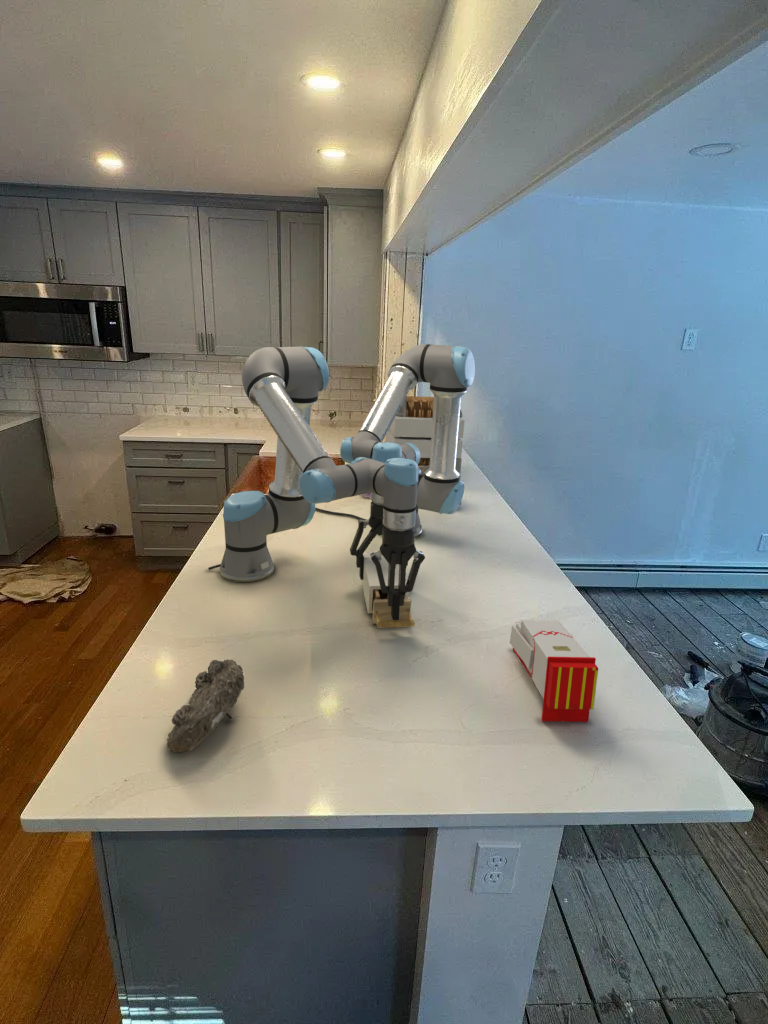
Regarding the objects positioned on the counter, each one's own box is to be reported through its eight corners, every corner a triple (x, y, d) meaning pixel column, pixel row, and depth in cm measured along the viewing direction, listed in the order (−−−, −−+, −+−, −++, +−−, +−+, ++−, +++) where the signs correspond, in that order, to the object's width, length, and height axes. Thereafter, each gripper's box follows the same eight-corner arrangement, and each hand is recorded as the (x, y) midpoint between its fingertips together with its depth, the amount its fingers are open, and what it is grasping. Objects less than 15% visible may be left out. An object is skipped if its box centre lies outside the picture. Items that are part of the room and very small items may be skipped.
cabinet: (407, 612, 149) (410, 584, 145) (367, 613, 147) (369, 586, 143) (396, 576, 163) (399, 551, 160) (360, 577, 162) (362, 552, 158)
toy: (555, 605, 135) (607, 664, 106) (550, 657, 138) (599, 728, 109) (505, 604, 135) (543, 662, 106) (500, 656, 138) (537, 727, 108)
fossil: (192, 660, 117) (244, 628, 112) (224, 691, 120) (276, 661, 115) (142, 746, 98) (202, 712, 93) (182, 779, 101) (242, 748, 96)
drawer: (413, 637, 138) (415, 615, 135) (376, 638, 137) (377, 617, 134) (399, 587, 157) (400, 567, 154) (365, 588, 155) (367, 568, 152)
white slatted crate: (382, 463, 289) (386, 382, 275) (445, 464, 293) (451, 384, 279) (390, 482, 257) (394, 392, 243) (460, 483, 261) (468, 394, 247)
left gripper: (372, 532, 126) (370, 626, 133) (430, 531, 128) (424, 623, 135) (368, 521, 133) (366, 611, 140) (423, 520, 135) (418, 608, 142)
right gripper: (342, 506, 146) (341, 584, 153) (430, 505, 149) (424, 581, 156) (340, 497, 153) (339, 572, 160) (424, 497, 156) (419, 570, 163)
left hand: (395, 617), depth 138 cm, fingers closed
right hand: (381, 577), depth 158 cm, fingers closed on cabinet, 10 cm apart
